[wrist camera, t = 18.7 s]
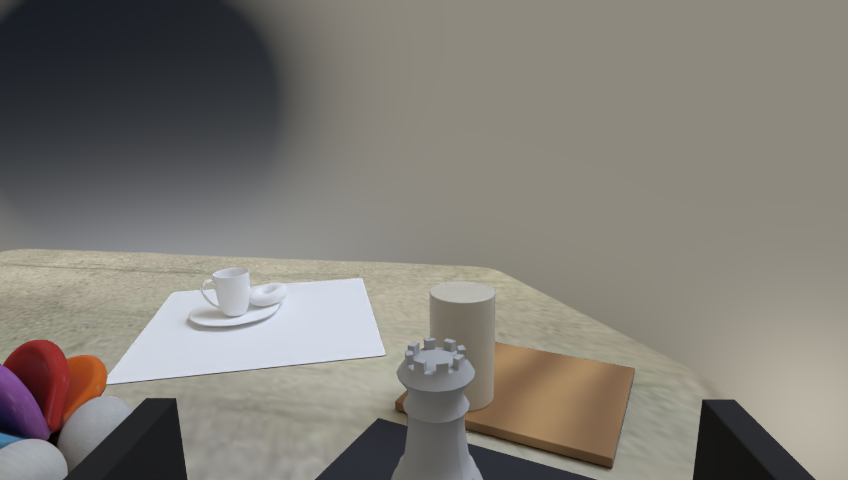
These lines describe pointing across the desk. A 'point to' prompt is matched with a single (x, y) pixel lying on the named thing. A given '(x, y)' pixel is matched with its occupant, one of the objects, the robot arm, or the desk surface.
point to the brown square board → (554, 403)
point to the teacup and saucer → (252, 328)
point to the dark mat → (385, 444)
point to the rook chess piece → (436, 413)
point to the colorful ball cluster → (52, 411)
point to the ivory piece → (467, 331)
